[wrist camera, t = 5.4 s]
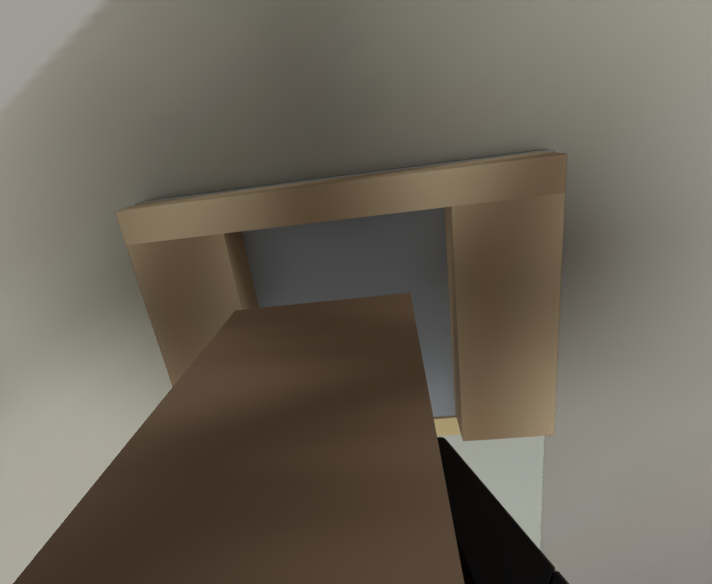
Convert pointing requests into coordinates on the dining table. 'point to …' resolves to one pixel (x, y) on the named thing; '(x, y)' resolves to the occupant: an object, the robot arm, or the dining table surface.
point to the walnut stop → (276, 464)
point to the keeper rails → (378, 197)
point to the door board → (431, 310)
